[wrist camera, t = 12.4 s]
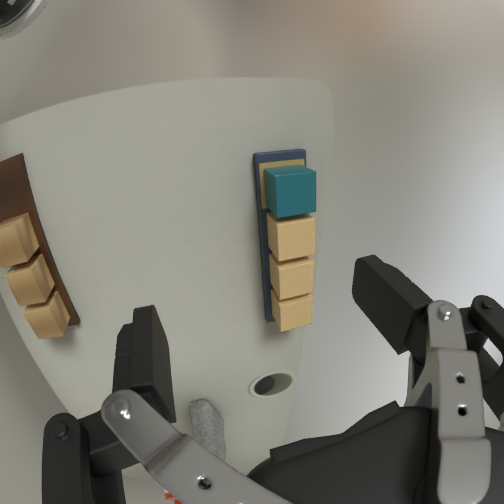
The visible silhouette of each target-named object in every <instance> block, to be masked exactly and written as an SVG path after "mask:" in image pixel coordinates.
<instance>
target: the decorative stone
mask: <svg viewBox="0 0 504 504" xmlns="http://www.w3.org/2000/svg"><path fill="white" fill-rule="evenodd" d="M190 411H191V417H192V424H193V437H194V439H195V440H196V441H197V442H198V443H200V444H201V445H202V446H204V447H205V448H206V449H208V450H209V451H210V452H212V453H213V454H214V455H216V456H217V457H219V458H220V459H221V460H223V461H224V462H225V457H226V447H225V441H224V419H223V418H222V416H221V415H220V414H219V413H218V412H217V410H216V409H215V408H214V407H213V405H212V404H211V403H210V402H209V401H206V400H199V401H195V402H192V403H190Z"/></svg>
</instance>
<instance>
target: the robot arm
mask: <svg viewBox="0 0 504 504" xmlns="http://www.w3.org/2000/svg"><path fill="white" fill-rule="evenodd" d="M33 2H34V0H0V28H3V27H6V26H8V25H10V24H11V23H13V22H14V21H16V20H17V19H18V18H19V17H20V16H22V15H23V14H24V13H25V12H26V10H27V9H28V8H29V7H30V6H31V4H32V3H33ZM352 295H353V298H354V301H355V303H356V304H357V305H358V306H359V307H360V309H361V310H362V311H363V312H364V313H365V315H366V316H367V317H368V318H369V319H370V321H371V322H372V323H373V324H374V325H375V327H376V328H377V329H378V330H379V332H380V333H381V334H382V335H383V336H384V338H385V339H386V340H387V341H388V342H389V344H390V345H391V346H392V348H393V349H394V350H395V351H396V352H397V354H398V355H399V354H401V353H404V352H406V351H408V350H409V351H410V352H411V354H410V357H409V370H408V389H407V397H406V401H405V404H404V407H399V405H398V404H397V402H396V401H393V402H391V403H389V404H387V405H385V406H383V407H381V408H378V409H376V410H374V411H372V412H370V413H368V414H367V415H366V416H364V417H363V418H362V419H361V420H359V421H358V422H357V423H355V424H354V425H353V426H351V427H350V428H349V429H347V430H346V431H345V432H343V433H341V434H337V435H331V436H323V437H316V438H308V439H302V440H299V441H296V442H293V443H290V444H287V445H284V446H280V447H276V448H273V449H270V458H268V459H266V460H264V461H263V462H261V463H260V464H259V465H257V466H256V467H255V468H254V469H253V470H251V471H250V472H249V473H248V475H247V476H245V475H243V474H242V473H240V472H239V471H237V470H236V469H234V468H233V467H231V466H230V465H229V464H227V463H226V462H224V461H223V460H221V459H220V458H219V457H217V456H216V455H214V454H213V453H212V452H210V451H209V450H208V449H206V448H205V447H204V446H202V445H201V444H200V443H198V442H197V441H196V440H195V439H193V438H192V437H190V436H189V435H187V434H182V433H181V432H180V431H178V430H177V429H176V428H175V427H174V426H172V425H171V424H170V423H175V422H176V415H175V406H174V398H173V388H172V378H171V367H170V355H169V346H168V341H167V338H166V335H165V332H164V329H163V327H162V324H161V321H160V319H159V316H158V313H157V311H156V308H155V306H154V305H150V306H145V307H140V308H135V309H134V312H133V323H130V324H125V325H123V327H122V329H121V330H120V332H119V334H118V336H117V344H116V347H117V349H116V353H115V356H116V358H115V364H114V375H113V389H112V394H110V395H109V396H108V397H107V398H106V399H105V401H104V402H103V404H102V407H101V410H100V411H98V412H96V413H94V414H91V415H89V416H86V417H84V418H81V419H78V420H77V419H76V418H75V417H74V416H73V415H71V414H69V413H60V414H57V415H55V416H53V417H52V418H51V419H50V420H49V421H48V422H47V424H46V426H45V429H44V437H43V453H42V504H126V501H125V494H124V488H123V481H122V473H121V470H122V469H125V468H127V467H130V466H132V465H135V464H137V463H141V464H142V465H143V466H144V467H145V469H146V471H147V472H148V473H149V474H150V475H151V476H152V477H153V478H154V479H155V480H156V481H157V482H159V484H161V485H162V486H163V487H164V488H165V489H166V490H167V491H168V492H169V493H170V494H172V495H173V496H174V497H175V498H176V499H177V500H178V501H180V502H181V503H182V504H504V308H502V307H501V306H500V305H499V304H498V303H497V302H496V301H495V300H494V299H492V298H490V297H488V296H484V295H479V296H476V297H475V298H474V299H473V301H472V304H471V307H467V308H460V309H458V308H457V307H456V306H455V305H453V304H452V303H450V302H447V301H443V300H437V301H433V300H432V299H431V298H430V297H429V296H428V295H427V294H425V293H424V292H423V291H422V290H421V289H420V288H419V287H418V286H417V285H415V284H414V283H413V282H411V280H410V279H409V278H408V277H405V275H404V274H403V273H402V272H401V271H400V270H398V269H397V268H395V267H393V266H391V265H389V264H387V263H384V262H383V261H382V260H380V259H379V258H378V257H377V256H376V255H370V256H366V257H362V258H358V259H357V260H356V262H355V268H354V277H353V285H352ZM488 338H489V339H490V340H491V341H492V343H493V344H494V345H495V346H496V347H497V348H498V349H499V351H500V352H501V353H502V356H503V362H502V364H501V366H500V367H499V365H498V364H497V363H496V362H495V361H494V359H493V358H492V357H491V356H490V355H489V354H488V352H487V351H486V350H485V349H484V348H483V346H484V344H485V342H486V340H487V339H488ZM483 398H484V400H485V401H486V403H487V404H488V405H489V406H490V408H491V410H492V411H493V412H494V414H495V415H496V417H497V418H498V420H499V421H500V425H501V426H500V427H499V428H498V430H496V429H492V428H489V427H485V422H484V406H483Z"/></svg>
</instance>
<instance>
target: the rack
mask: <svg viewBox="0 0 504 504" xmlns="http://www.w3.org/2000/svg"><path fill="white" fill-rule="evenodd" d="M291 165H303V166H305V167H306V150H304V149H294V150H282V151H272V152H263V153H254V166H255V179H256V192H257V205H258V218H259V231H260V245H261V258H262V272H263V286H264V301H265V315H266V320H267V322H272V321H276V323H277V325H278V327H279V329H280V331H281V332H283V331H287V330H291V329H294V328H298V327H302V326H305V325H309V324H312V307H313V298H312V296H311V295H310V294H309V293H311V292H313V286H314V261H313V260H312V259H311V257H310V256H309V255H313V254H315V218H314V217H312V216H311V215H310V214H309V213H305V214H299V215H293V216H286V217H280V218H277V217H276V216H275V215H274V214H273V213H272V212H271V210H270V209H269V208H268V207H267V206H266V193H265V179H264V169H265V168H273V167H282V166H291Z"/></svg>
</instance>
